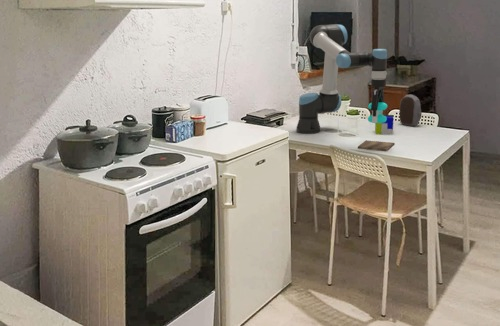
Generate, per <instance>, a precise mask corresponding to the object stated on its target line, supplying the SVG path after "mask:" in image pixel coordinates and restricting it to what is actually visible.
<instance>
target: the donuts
mask: <svg viewBox="0 0 500 326" xmlns="http://www.w3.org/2000/svg"><path fill="white" fill-rule="evenodd" d="M371 106H372V102H370V103H369V104H368V106H367V108H368V109H369V110H371ZM387 108H388V104H387V103H385V102H384V103H382V102H378V107H377V110H378V111H382V110H383V111H385V110H387ZM384 115H385V114H382V115H380V114H378V117H377V122H372V114H371V115H369V116H367V121H368V122H369V123H372V124H375V123H383V122H386V120H387V118H386V116H384Z"/></svg>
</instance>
